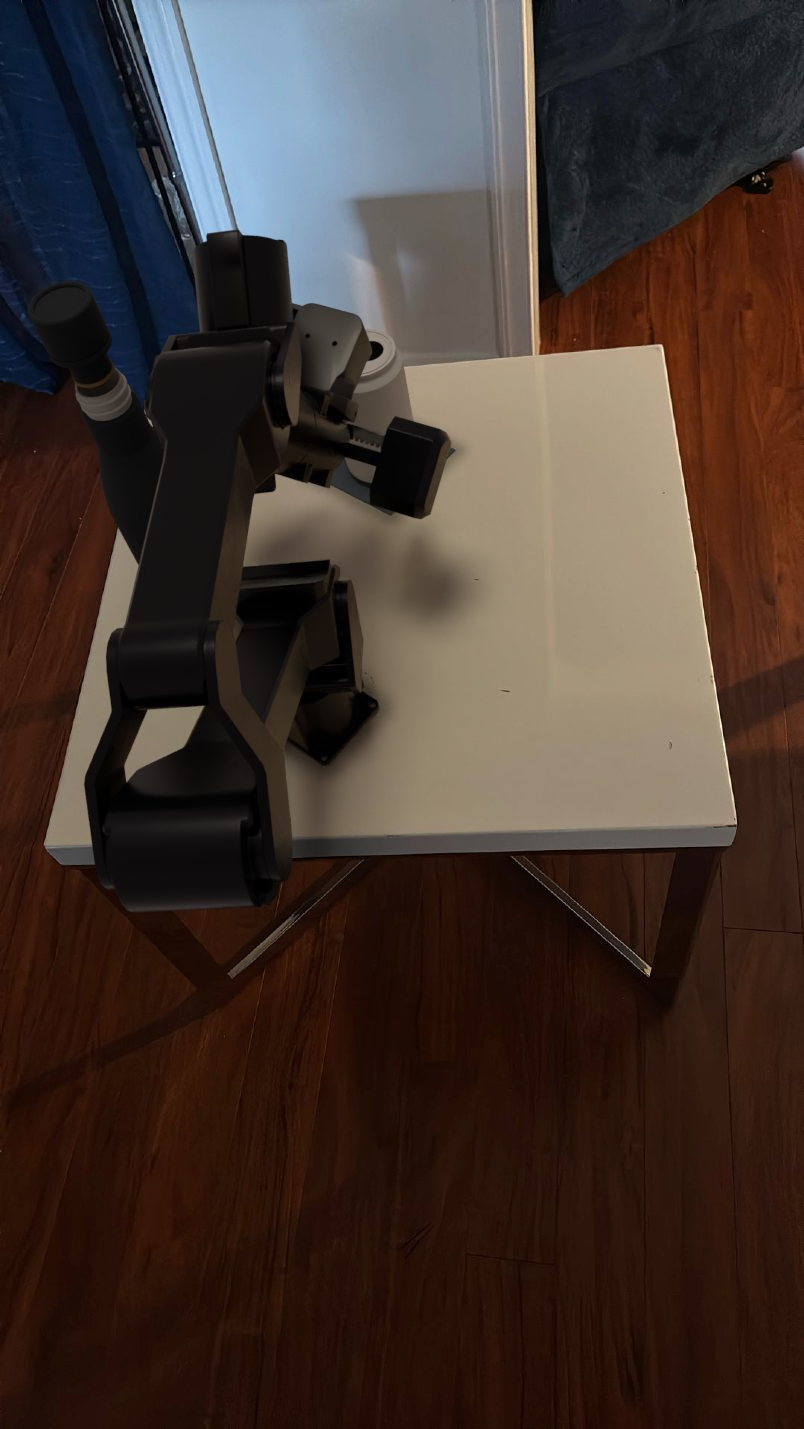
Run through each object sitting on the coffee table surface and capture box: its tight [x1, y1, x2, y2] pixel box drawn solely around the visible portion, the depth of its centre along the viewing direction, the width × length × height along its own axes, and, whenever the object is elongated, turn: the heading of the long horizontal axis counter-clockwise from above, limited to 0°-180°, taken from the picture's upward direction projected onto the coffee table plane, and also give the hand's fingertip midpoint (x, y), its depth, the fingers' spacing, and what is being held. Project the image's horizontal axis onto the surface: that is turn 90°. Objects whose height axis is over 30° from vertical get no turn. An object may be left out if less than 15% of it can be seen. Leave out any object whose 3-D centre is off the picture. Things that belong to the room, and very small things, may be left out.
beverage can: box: [345, 328, 414, 483], centre depth 86 cm, size 6×6×12 cm
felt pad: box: [330, 446, 456, 516], centre depth 92 cm, size 9×9×1 cm
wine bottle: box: [27, 280, 164, 566], centre depth 72 cm, size 6×6×30 cm
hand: (354, 454), depth 81 cm, fingers open, 9 cm apart
